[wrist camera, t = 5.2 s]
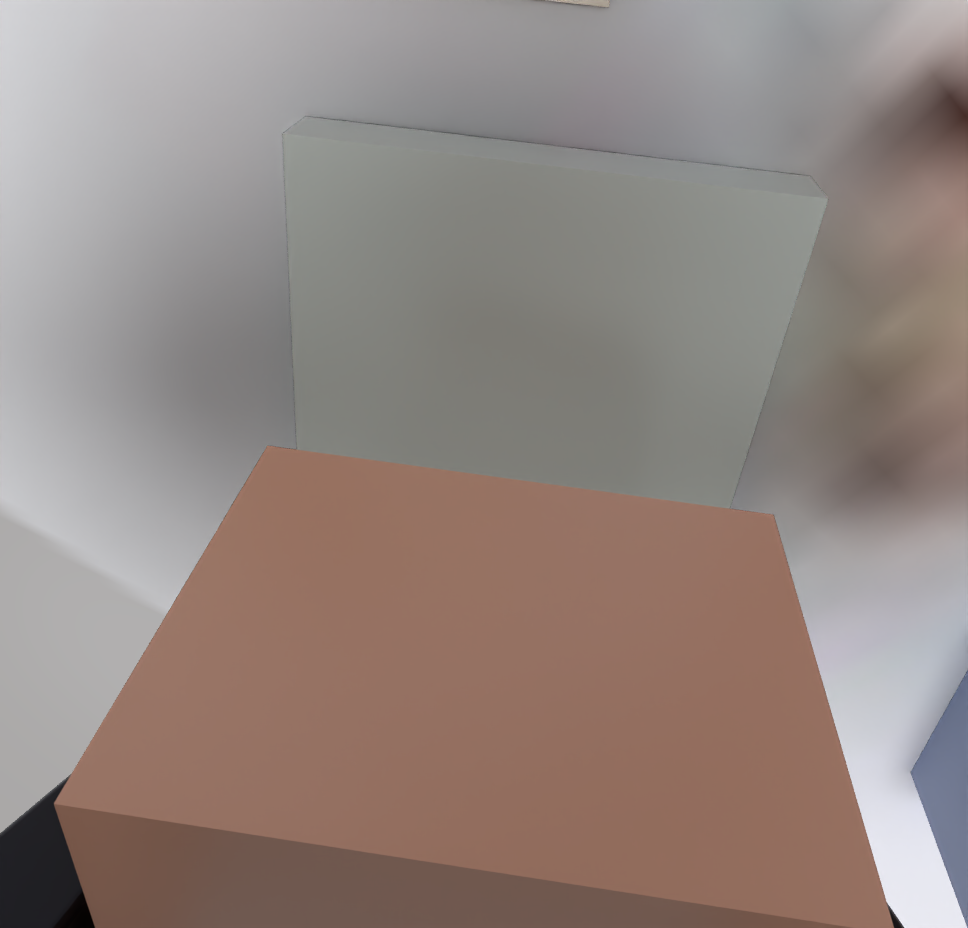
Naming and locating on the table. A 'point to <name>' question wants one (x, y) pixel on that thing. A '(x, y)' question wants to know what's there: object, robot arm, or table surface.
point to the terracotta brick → (472, 720)
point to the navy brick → (948, 790)
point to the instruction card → (587, 2)
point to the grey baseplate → (537, 306)
